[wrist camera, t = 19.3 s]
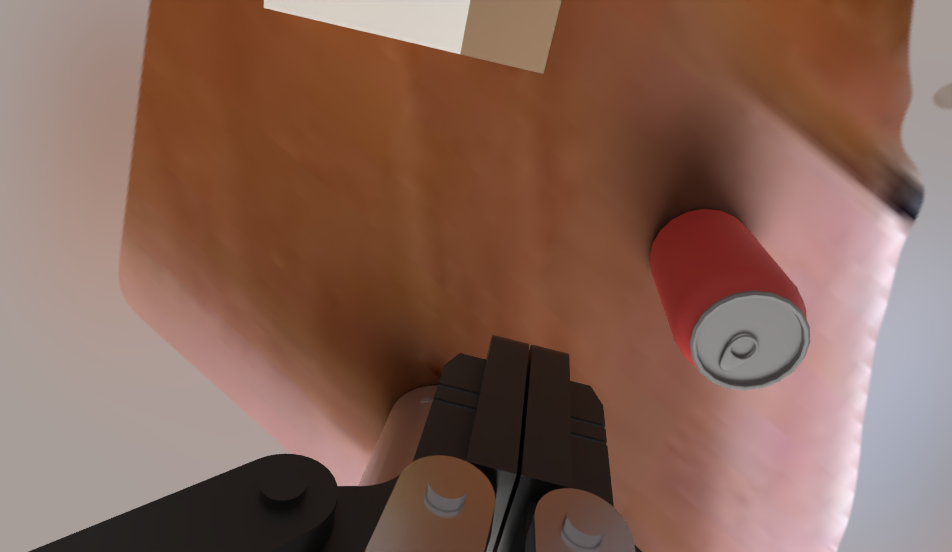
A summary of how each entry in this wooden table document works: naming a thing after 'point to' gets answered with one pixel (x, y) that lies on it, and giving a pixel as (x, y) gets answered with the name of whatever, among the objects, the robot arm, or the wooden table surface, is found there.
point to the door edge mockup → (447, 24)
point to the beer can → (728, 301)
